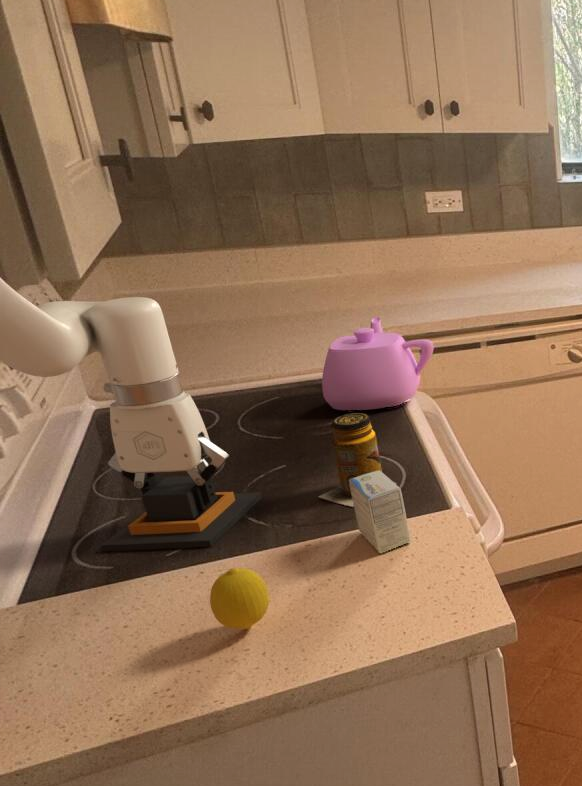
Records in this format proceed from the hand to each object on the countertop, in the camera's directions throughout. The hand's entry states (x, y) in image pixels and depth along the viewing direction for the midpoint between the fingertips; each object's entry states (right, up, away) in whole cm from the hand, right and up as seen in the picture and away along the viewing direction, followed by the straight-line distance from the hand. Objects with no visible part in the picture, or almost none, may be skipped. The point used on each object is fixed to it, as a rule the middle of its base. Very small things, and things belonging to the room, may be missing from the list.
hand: (183, 506), depth 112 cm
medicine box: (+30, -4, -3) cm, 31 cm away
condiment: (+20, +1, +10) cm, 23 cm away
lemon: (+23, -11, -21) cm, 33 cm away
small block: (0, -1, 0) cm, 1 cm away
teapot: (+5, +15, +47) cm, 50 cm away
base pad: (0, -3, +1) cm, 3 cm away
